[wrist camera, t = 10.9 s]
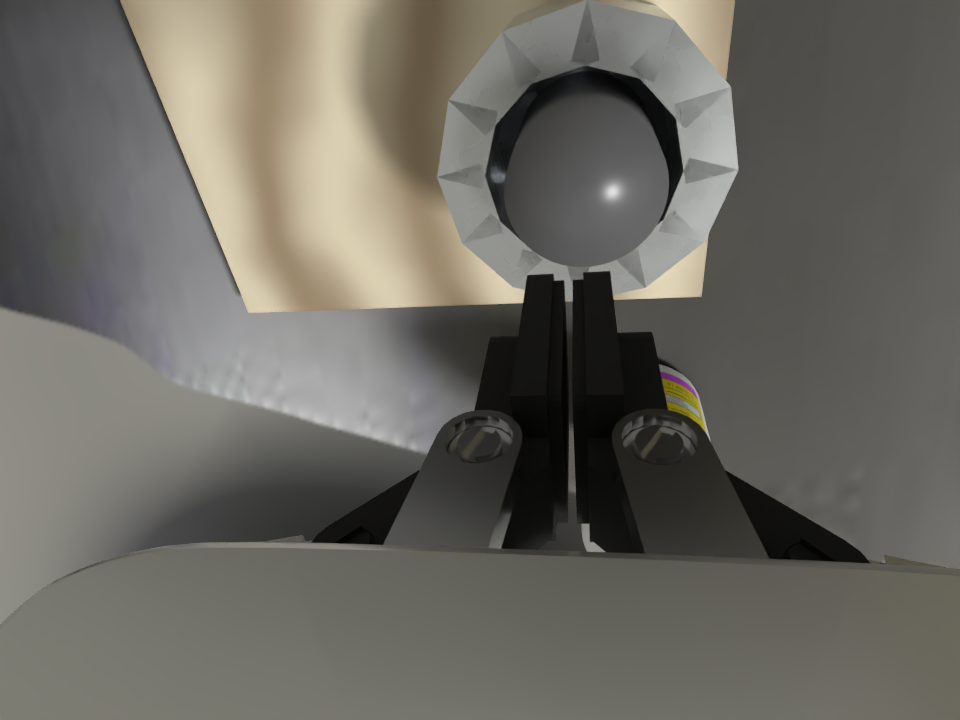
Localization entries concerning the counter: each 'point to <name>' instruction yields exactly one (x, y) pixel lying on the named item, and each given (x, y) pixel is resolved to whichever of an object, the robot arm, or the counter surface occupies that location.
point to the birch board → (347, 141)
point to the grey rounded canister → (585, 172)
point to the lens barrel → (661, 88)
